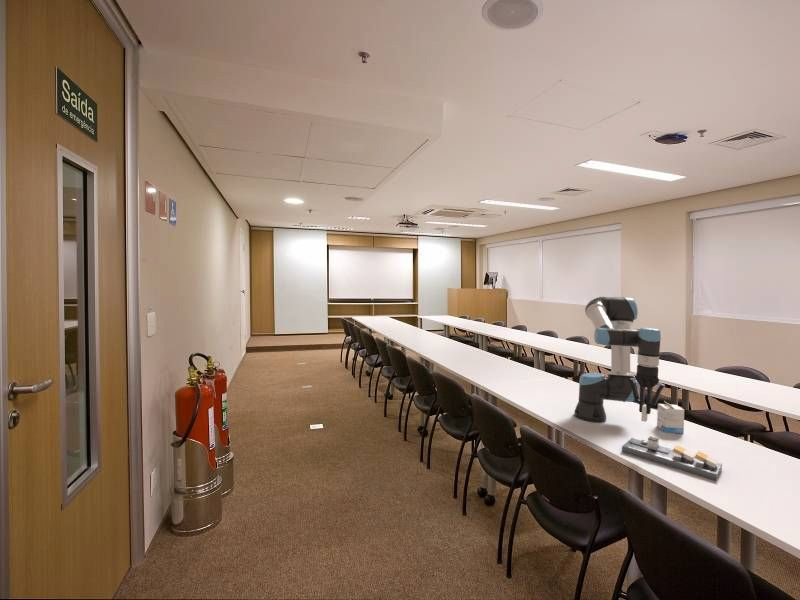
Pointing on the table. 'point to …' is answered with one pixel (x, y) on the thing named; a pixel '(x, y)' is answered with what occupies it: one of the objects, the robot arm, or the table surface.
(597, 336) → the robot arm
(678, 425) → the ink box
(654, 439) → the slider
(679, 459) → the console
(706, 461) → the rocker
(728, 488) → the table surface
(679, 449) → the rocker
